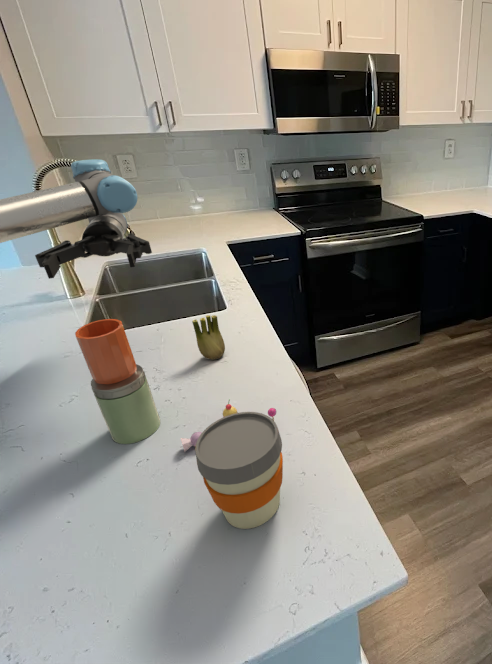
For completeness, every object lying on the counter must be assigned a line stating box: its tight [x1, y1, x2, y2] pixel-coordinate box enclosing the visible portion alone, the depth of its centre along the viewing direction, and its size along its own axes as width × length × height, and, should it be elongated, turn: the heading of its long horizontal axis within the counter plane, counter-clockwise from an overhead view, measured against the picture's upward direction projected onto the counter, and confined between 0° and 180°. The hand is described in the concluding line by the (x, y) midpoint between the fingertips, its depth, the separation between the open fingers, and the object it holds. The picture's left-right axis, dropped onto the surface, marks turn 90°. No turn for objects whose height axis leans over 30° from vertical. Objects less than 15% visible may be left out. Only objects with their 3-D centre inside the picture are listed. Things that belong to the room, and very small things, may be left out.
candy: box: [180, 398, 277, 453], centre depth 84 cm, size 18×8×6 cm, turn 123°
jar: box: [93, 375, 161, 445], centre depth 84 cm, size 9×9×12 cm
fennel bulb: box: [191, 314, 226, 361], centre depth 108 cm, size 6×5×12 cm
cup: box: [74, 318, 137, 384], centre depth 79 cm, size 7×7×10 cm
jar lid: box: [90, 363, 147, 399], centre depth 81 cm, size 9×9×2 cm
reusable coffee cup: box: [194, 411, 284, 530], centre depth 67 cm, size 13×13×15 cm
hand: (90, 266), depth 81 cm, fingers open, 13 cm apart
